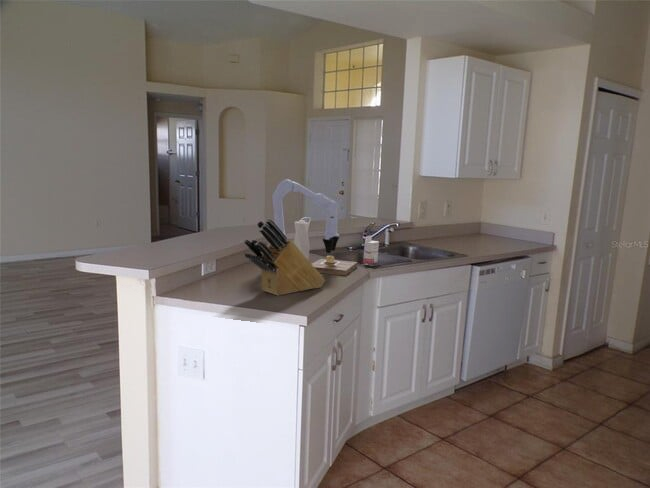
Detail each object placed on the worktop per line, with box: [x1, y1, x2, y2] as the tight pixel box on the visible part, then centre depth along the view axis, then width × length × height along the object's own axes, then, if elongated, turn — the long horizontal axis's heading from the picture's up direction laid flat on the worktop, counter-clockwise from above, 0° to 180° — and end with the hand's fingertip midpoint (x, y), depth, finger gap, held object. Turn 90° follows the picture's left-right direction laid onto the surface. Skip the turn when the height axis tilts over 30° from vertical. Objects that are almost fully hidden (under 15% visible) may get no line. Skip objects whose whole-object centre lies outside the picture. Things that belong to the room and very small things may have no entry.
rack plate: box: [311, 258, 358, 277], centre depth 252 cm, size 22×20×3 cm
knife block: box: [243, 218, 326, 297], centre depth 204 cm, size 11×35×31 cm, turn 132°
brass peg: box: [325, 255, 335, 264], centre depth 254 cm, size 4×4×6 cm
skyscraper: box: [293, 216, 312, 260], centre depth 231 cm, size 8×8×28 cm
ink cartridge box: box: [363, 235, 380, 265], centre depth 272 cm, size 9×5×15 cm, turn 149°
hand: (330, 251), depth 253 cm, fingers open, 7 cm apart
